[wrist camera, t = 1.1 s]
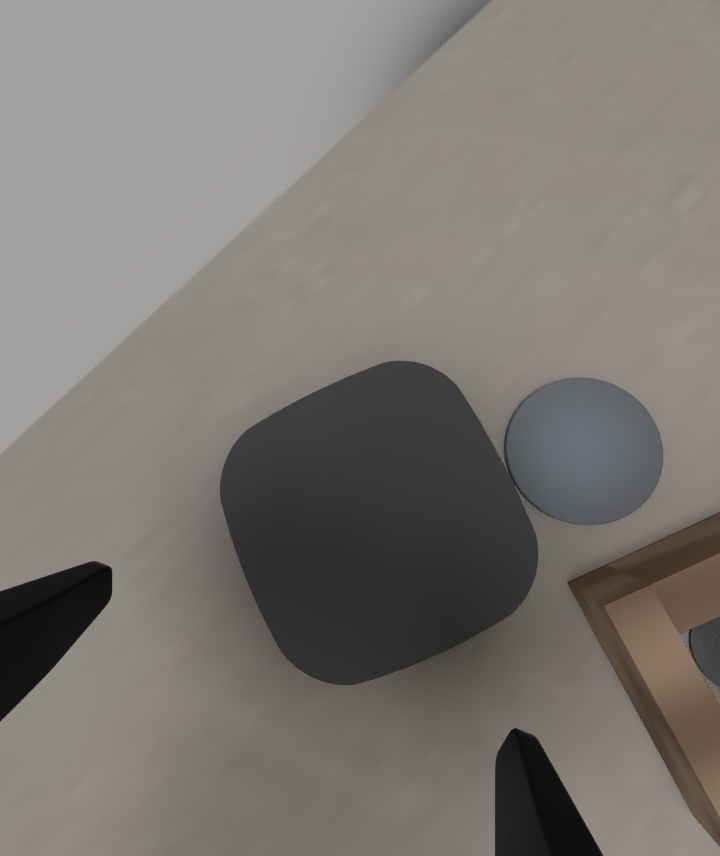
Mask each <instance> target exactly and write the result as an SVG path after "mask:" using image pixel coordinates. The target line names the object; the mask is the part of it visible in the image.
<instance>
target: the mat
mask: <svg viewBox="0 0 720 856" xmlns="http://www.w3.org/2000/svg"><path fill="white" fill-rule="evenodd" d="M504 451H505V460H506V465H507V468H508V471H509V474H510V476H511V478H512V480H513V482H514V484H515V485H516V487H517V488H518V490H519V491H520V492H521V494H522V495H523V496H524V497H525V498H526V499H527V500H528V501H529V502H530V503H531V504H532V505H534V506H535V507H536V508H538V509H539V510H541V511H542V512H544V513H546V514H548V515H550V516H552V517H554V518H557V519H560V520H563V521H567V522H571V523H575V524H582V525H597V524H605V523H609V522H614V521H616V520H619V519H621V518H624V517H626V516H627V515H629V514H631V513H633V512H634V511H635V510H637V509H638V508H639V507H640V506H641V505H642V504H643V503H644V502H645V501H646V500H647V499H648V498H649V497H650V495H651V494H652V493H653V491H654V489H655V487H656V485H657V483H658V481H659V478H660V475H661V471H662V466H663V446H662V441H661V437H660V433H659V431H658V428H657V426H656V424H655V422H654V420H653V418H652V417H651V415H650V414H649V412H648V411H647V409H646V408H645V407H644V406H643V405H642V404H641V403H640V402H639V401H638V400H637V399H636V398H635V397H633V396H632V395H631V394H629V393H628V392H626V391H625V390H623V389H622V388H620V387H618V386H616V385H613V384H611V383H608V382H605V381H601V380H597V379H591V378H570V379H564V380H560V381H556V382H553V383H551V384H549V385H546V386H544V387H543V388H541V389H539V390H537V391H536V392H534V393H533V394H531V395H530V396H529V397H527V398H526V399H525V400H524V401H523V402H522V403H521V404H520V406H519V407H518V408H517V409H516V411H515V412H514V414H513V416H512V418H511V420H510V422H509V425H508V427H507V431H506V435H505V443H504Z"/></svg>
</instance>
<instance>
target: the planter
mask: <svg viewBox="0 0 720 856" xmlns="http://www.w3.org/2000/svg"><path fill="white" fill-rule="evenodd" d="M690 641H691V649H692V653H693V656H694V659H695V661H696V663H697V665H698V666H699V668H700V669H701V671H702V672H703V673H704V674H705V675H706V676H707V677H708V678H709V679H710V680H711V681H712V682H713V683H715V684H716V685H717V686H719V687H720V616H719V617H717V618H714V619H712V620H710V621H708V622H705V623H703V624H701V625H699V626H696V627H694V628H692V630H691V640H690Z"/></svg>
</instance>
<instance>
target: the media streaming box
mask: <svg viewBox="0 0 720 856" xmlns="http://www.w3.org/2000/svg"><path fill="white" fill-rule="evenodd" d="M220 497H221V502H222V506H223V510H224V514H225V518H226V521H227V524H228V528H229V531H230V534H231V538H232V541H233V544H234V547H235V550H236V552H237V555H238V558H239V561H240V564H241V566H242V569H243V571H244V574H245V577H246V579H247V582H248V584H249V586H250V589H251V591H252V594H253V596H254V598H255V600H256V602H257V605H258V607H259V609H260V611H261V613H262V615H263V617H264V620H265V622H266V624H267V626H268V628H269V630H270V631H271V633H272V635H273V637H274V639H275V641H276V643H277V645H278V646H279V648H280V650H281V652H282V653H283V654H284V655H285V657H286V658H287V659H288V660H289V661H290V662H291V663H292V664H293V665H295V666H296V667H297V668H298V669H300V670H301V671H303V672H304V673H306V674H308V675H309V676H311V677H313V678H316V679H318V680H321V681H324V682H327V683H332V684H339V685H355V684H358V683H362V682H365V681H369V680H372V679H375V678H378V677H381V676H384V675H387V674H390V673H393V672H395V671H398V670H401V669H403V668H406V667H409V666H411V665H414V664H416V663H418V662H421V661H423V660H426V659H428V658H430V657H432V656H435V655H437V654H439V653H441V652H443V651H445V650H447V649H450V648H452V647H454V646H456V645H458V644H460V643H462V642H463V641H465V640H467V639H469V638H471V637H473V636H475V635H477V634H478V633H480V632H482V631H484V630H486V629H487V628H489V627H491V626H492V625H494V624H496V623H498V622H499V621H501V620H502V619H504V618H506V617H507V616H509V615H510V614H512V613H513V612H514V611H515V610H516V609H517V608H518V606H519V605H520V604H521V603H522V601H523V600H524V599H525V597H526V595H527V594H528V592H529V590H530V588H531V586H532V583H533V580H534V577H535V574H536V569H537V563H538V546H537V539H536V534H535V532H534V529H533V527H532V525H531V522H530V520H529V517H528V515H527V513H526V510H525V508H524V506H523V504H522V502H521V499H520V497H519V495H518V493H517V491H516V489H515V487H514V484H513V482H512V480H511V478H510V476H509V474H508V472H507V470H506V468H505V466H504V464H503V463H502V461H501V459H500V457H499V455H498V453H497V451H496V449H495V448H494V446H493V444H492V442H491V440H490V439H489V437H488V435H487V433H486V432H485V430H484V428H483V426H482V425H481V423H480V421H479V420H478V418H477V416H476V415H475V413H474V412H473V410H472V408H471V407H470V405H469V404H468V402H467V400H466V399H465V397H464V396H463V394H462V393H461V391H460V390H459V388H458V387H457V385H456V384H455V383H454V382H453V381H452V380H450V379H449V378H448V377H447V376H445V375H444V374H443V373H441V372H439V371H438V370H436V369H434V368H432V367H429V366H427V365H424V364H420V363H416V362H410V361H391V362H385V363H382V364H379V365H377V366H374V367H371V368H369V369H366V370H364V371H361V372H359V373H356V374H354V375H351V376H349V377H347V378H344V379H342V380H340V381H338V382H335V383H333V384H331V385H329V386H327V387H324V388H322V389H320V390H318V391H316V392H314V393H312V394H310V395H308V396H306V397H304V398H302V399H300V400H298V401H296V402H294V403H292V404H291V405H289V406H287V407H285V408H283V409H281V410H280V411H278V412H276V413H274V414H272V415H271V416H269V417H267V418H266V419H264V420H262V421H261V422H259V423H257V424H256V425H254V426H253V427H251V428H249V429H248V430H247V431H245V432H244V433H243V434H242V435H241V437H240V438H239V439H238V440H237V441H236V443H235V444H234V446H233V447H232V449H231V451H230V452H229V454H228V457H227V459H226V461H225V464H224V467H223V471H222V476H221V484H220Z"/></svg>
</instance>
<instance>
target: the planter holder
mask: <svg viewBox="0 0 720 856" xmlns="http://www.w3.org/2000/svg"><path fill="white" fill-rule="evenodd" d="M568 584H569V586H570V588H571V590H572V592H573V593H574V595H575V597H576V599H577V601H578V603H579V605H580V606H581V608H582V610H583V612H584V614H585V616H586V618H587V619H588V621H589V623H590V625H591V627H592V629H593V630H594V632H595V634H596V636H597V638H598V640H599V642H600V643H601V645H602V647H603V649H604V651H605V653H606V655H607V656H608V658H609V660H610V662H611V664H612V666H613V668H614V669H615V671H616V673H617V675H618V677H619V679H620V681H621V682H622V684H623V686H624V688H625V690H626V692H627V694H628V695H629V697H630V699H631V701H632V703H633V705H634V706H635V708H636V710H637V712H638V714H639V716H640V718H641V719H642V721H643V723H644V725H645V727H646V729H647V731H648V732H649V734H650V736H651V738H652V740H653V742H654V744H655V745H656V747H657V749H658V751H659V753H660V755H661V757H662V758H663V760H664V762H665V764H666V766H667V768H668V769H669V771H670V773H671V775H672V777H673V779H674V781H675V782H676V784H677V786H678V788H679V790H680V792H681V794H682V795H683V797H684V799H685V801H686V803H687V805H688V807H689V808H690V810H691V812H692V814H693V816H694V817H695V818H696V819H697V821H698V822H699V823H700V824H701V825H702V826H703V828H704V829H705V830H706V831H707V832H708V833H709V835H710V836H711V837H712V838H713V839H714V840H715V842H716V843H717V844H718V845H719V846H720V705H719V703H718V701H717V700H716V698H715V696H714V694H713V693H712V691H711V689H710V687H709V686H708V684H707V682H706V680H705V679H704V677H703V675H702V673H701V672H700V670H699V668H698V666H697V665H696V663H695V661H694V659H693V658H692V656H691V654H690V653H689V651H688V649H687V647H686V646H685V644H684V642H683V640H682V639H681V637H680V635H679V634H681V633H683V632H685V631H688V630H690V629H692V628H694V627H696V626H699V625H701V624H703V623H705V622H708V621H710V620H712V619H714V618H717V617H719V616H720V513H718V514H716V515H714V516H712V517H710V518H707V519H705V520H703V521H701V522H699V523H697V524H694V525H692V526H690V527H688V528H686V529H683V530H681V531H679V532H677V533H675V534H673V535H670V536H668V537H666V538H664V539H662V540H660V541H657V542H655V543H653V544H651V545H649V546H646V547H644V548H642V549H640V550H638V551H636V552H633V553H631V554H629V555H627V556H625V557H623V558H620V559H618V560H616V561H614V562H612V563H609V564H607V565H605V566H603V567H601V568H599V569H596V570H594V571H592V572H590V573H588V574H586V575H583V576H581V577H579V578H577V579H575V580H572V581H570V582H568Z"/></svg>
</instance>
